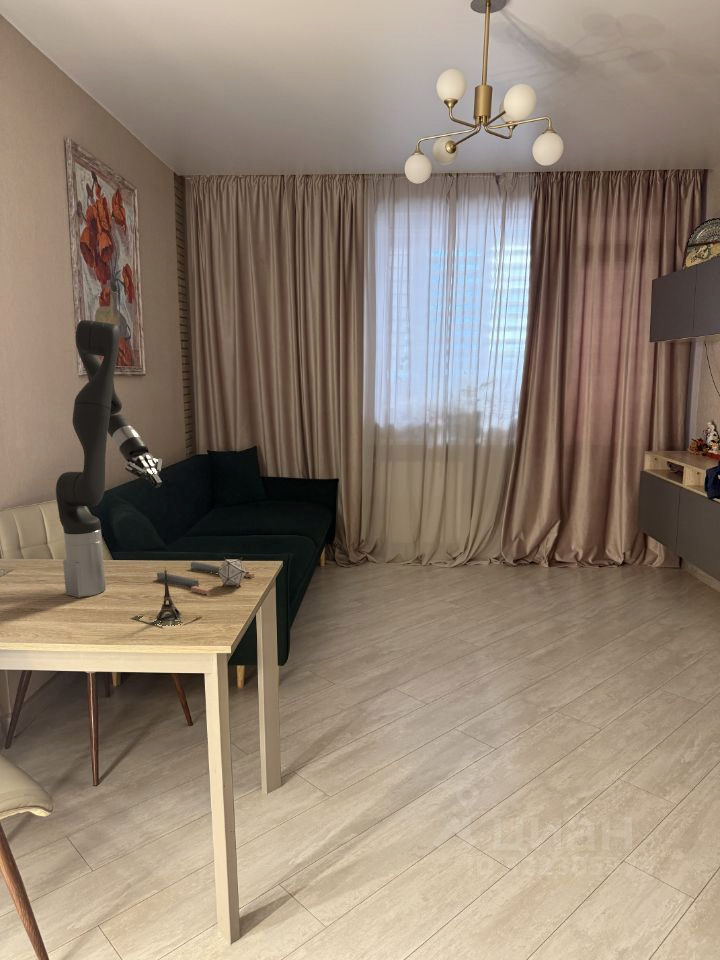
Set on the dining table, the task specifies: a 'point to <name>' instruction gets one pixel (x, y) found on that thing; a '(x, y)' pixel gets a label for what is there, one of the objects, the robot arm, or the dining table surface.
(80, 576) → the robot arm
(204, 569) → the chute
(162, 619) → the eiffel tower figurine
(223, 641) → the dining table surface
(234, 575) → the game die
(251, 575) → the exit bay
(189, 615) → the dining table surface
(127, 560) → the dining table surface
